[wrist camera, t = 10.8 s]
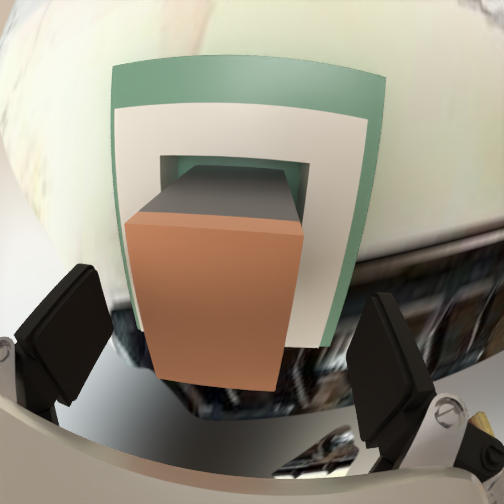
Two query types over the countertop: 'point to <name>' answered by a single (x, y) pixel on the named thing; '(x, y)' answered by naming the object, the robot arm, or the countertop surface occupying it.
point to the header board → (261, 92)
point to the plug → (217, 275)
